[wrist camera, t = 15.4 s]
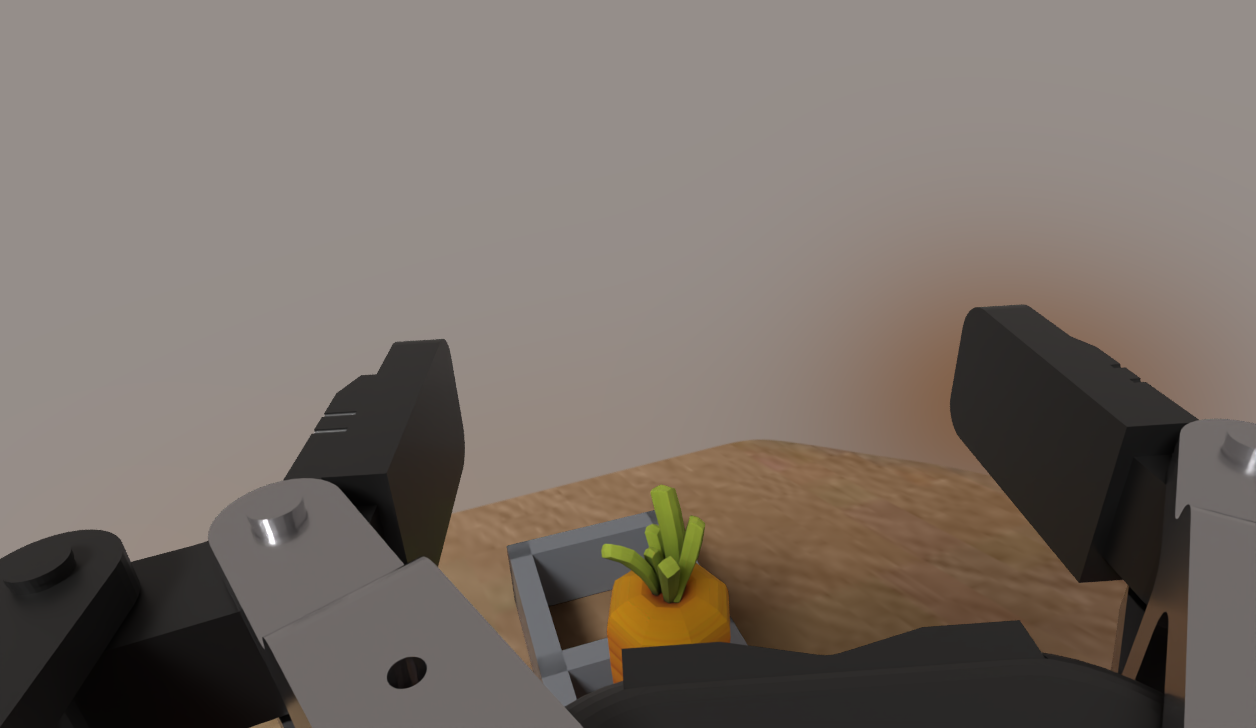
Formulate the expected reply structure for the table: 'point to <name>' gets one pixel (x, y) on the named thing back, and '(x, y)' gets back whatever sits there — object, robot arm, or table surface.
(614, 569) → the socket block
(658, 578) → the carrot
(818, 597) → the table surface
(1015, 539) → the table surface
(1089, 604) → the table surface
